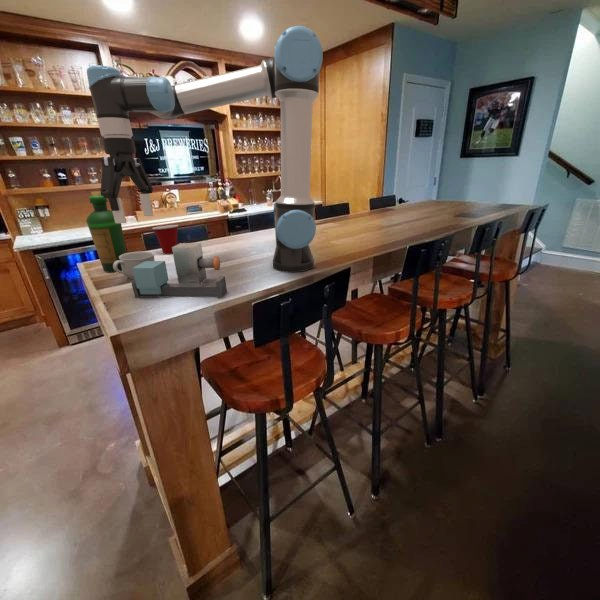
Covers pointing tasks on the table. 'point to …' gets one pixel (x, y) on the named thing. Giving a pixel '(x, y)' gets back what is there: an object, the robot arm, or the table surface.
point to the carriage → (150, 276)
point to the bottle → (105, 233)
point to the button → (210, 263)
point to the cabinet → (188, 262)
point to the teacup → (132, 262)
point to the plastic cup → (166, 237)
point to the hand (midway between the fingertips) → (135, 219)
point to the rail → (188, 289)
